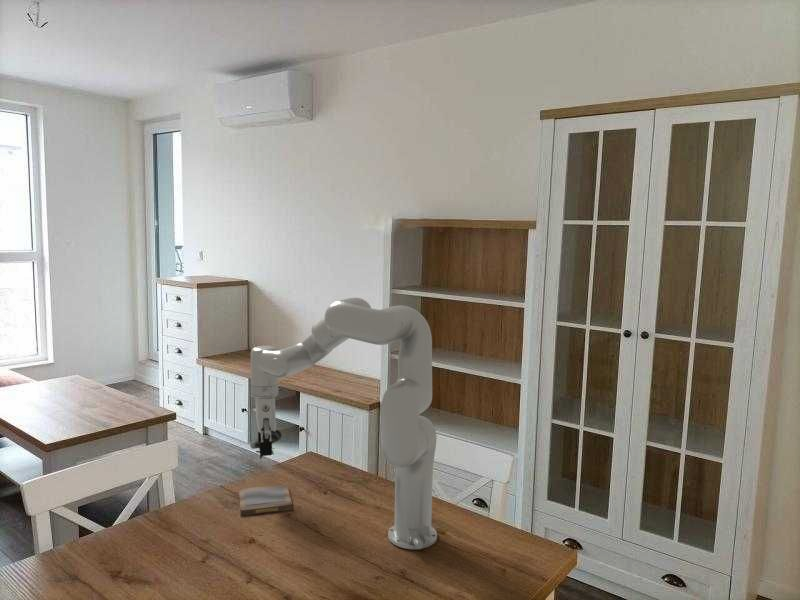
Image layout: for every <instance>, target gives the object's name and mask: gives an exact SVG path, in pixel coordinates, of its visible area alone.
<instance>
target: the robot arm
mask: <svg viewBox="0 0 800 600" xmlns="http://www.w3.org/2000/svg"><path fill="white" fill-rule="evenodd" d="M349 339H351V340H355V341H360V342H363V343H367V344H371V345H377V346H385V345H389V344H392V343H395V342H397V341H399V343H400V344H399V352H398V355H397V369H398V370H397V381H396V382H395V383H393V384H391V385H390V386H389V387H388V388H387V389H386V390H385V391H384V393H383V396H382V400H381V404H380V438H381V440H380V441H381V442H380V443H381V450H382V454H383V456H384V458H385V460H386V461H387V462H388V463H389V464H390V465H391V466H393V467H395V474H394V475H395V476H394V477H395V480H394V484H395V485H394V525H392V526H390V528H389V529H388V532H387V538H388V540H389V542H390V543H392V544H393V545H394V546H396V547H399V548H402V549H406V550H422V549H426V548H429V547H431V546H433V545H434V544H435V543H436V542H437V540H438V532H437V530H436V529H435V528H434V527H433V526H432V519H433V518H432V510H433V481H434V463H435V461H434V460H435V453H436V448H437V438H438V437H437V430H436V428H435V426H434V424H433V422H432V421H431V420H430V419H429V418H427V417H425V416H423V415H420V414H422V413H424V411H426V410H427V409H428V408H429V407H430V406H431V404H432V401H433V357H432V355H433V353H432V352H433V338H432V332H431V328H430V325H429V323H428V321H427V319H426V318H425V317H424V316H423V315H422V314H421V313H420V312H419V311H418V310H417V309H415V308H413V307H411V306H409V305H408V306H407V305H394V306H388V307H385V308H381V309H376V308H372V306H371V304H369V302H368V301H367V300H365V299H363V298H361V297H349V298H345V299H338V300H336V301H334V302H332V303H331V304H330V305H329V306H328V308H326V310H325V313H324V316H323V317H321V318H320V319H318V320H316V322H314V323H313V324H312V326H311V334H310V335H309V336H308V337H306V338H305V339H303V340H302V341H301V342H299V343H297V344H296V345H292V346H288V347H285V348H283V349H279V350H278V349H277V348H276V347H275V346H272V345H258V346H255V347H253V348H252V349H251V351H250V397H251V398H254V401H255V402H254V403H255V404H254V405H255V421H256V422H255V423H256V426H257V427H256V428H257V438H258V439H257V441H259V442H260V449H259V451H260V453H259V456H260V455H261V456H262V457H265V456H272V455H273V454H272V450H273V449H272V448H273V443H272V441H271V431H274V432H275V431H276V430H277V422H276V421H277V420H276V419H277V418H276V397H277V396H278V395H279V379H284V378H287V377H290V376H293V375H295V374H297V373H300V372H304V371H306V370H307V369H309V368H311V367H313V366H314V365H316V364H317V363H319V362H320V361H321V360H323V359H324V358H326V356H328V355H329V354H330V353H331V352H332V351H333V350H334V349H335V348H337V347H338V346H340V345H341V344H343V343H345V342H346V341H347V340H349Z"/></svg>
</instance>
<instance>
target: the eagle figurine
mask: <svg viewBox="0 0 800 600" xmlns="http://www.w3.org/2000/svg"><path fill="white" fill-rule="evenodd" d="M281 437H282V433H281V431H280V430H279V429H276V431H275V432H274V431H272V430H271V441H272V444H276V442H278V441H280V440H281ZM249 446H250V448H251V449H252V450H253V449H255V452H256V453H258V454H259V460H261V459H262V458H263V456H261V455H260V442H259V441H258V440H254V441H253V442H251V443H250V445H249ZM256 449H259V450H256ZM274 449H276V447H272V455H273V456H274V455H275V453H274Z"/></svg>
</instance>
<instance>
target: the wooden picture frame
mask: <svg viewBox="0 0 800 600" xmlns="http://www.w3.org/2000/svg"><path fill="white" fill-rule="evenodd" d="M238 495H239V496H238V497H239V498H238V499H239V510H240V511H239V512H240V516H249V515H257V514H267V513H275V512H283V511H292V510H293V502H292V498H291V493H290V491H289V487H288V484H287V483H283V484H275V485H265V486H255V487H254V486H253V487H244V488H239V489H238Z"/></svg>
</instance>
